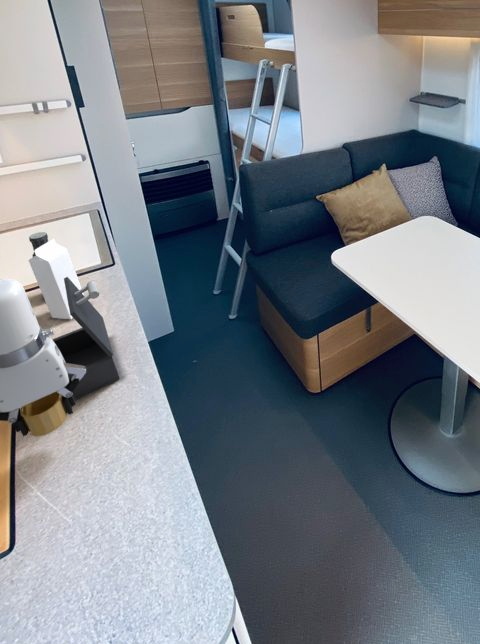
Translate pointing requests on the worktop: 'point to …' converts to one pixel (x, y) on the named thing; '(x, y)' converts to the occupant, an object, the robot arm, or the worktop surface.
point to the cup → (44, 414)
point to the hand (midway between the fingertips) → (48, 418)
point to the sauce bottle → (38, 240)
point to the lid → (88, 313)
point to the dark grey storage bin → (87, 361)
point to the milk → (54, 277)
